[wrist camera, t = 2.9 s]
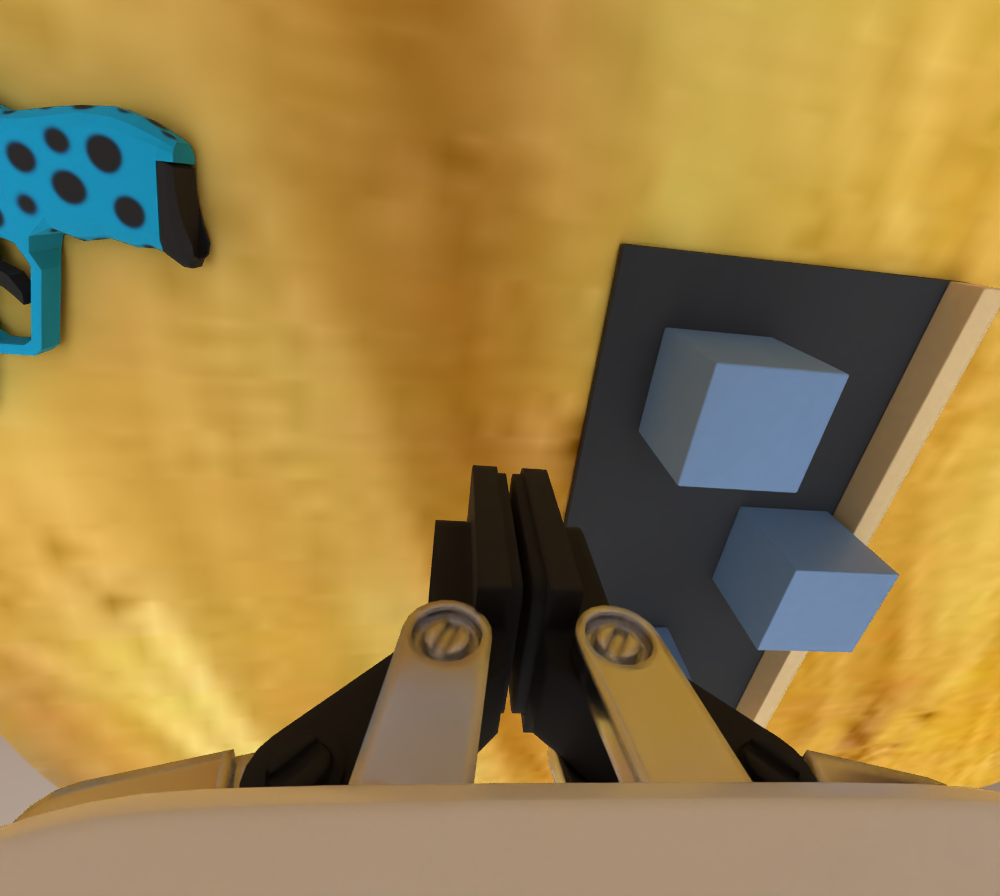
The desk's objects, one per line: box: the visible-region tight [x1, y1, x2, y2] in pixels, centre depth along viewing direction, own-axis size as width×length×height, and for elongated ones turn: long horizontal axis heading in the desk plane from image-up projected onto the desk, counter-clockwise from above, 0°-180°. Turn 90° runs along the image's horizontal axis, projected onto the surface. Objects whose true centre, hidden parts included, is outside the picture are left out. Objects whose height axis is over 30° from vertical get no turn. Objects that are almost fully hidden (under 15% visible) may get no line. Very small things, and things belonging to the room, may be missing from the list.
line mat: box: [564, 243, 1000, 728], centre depth 24 cm, size 26×14×2 cm, turn 174°
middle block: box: [712, 507, 899, 652], centre depth 23 cm, size 4×4×4 cm
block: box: [639, 327, 849, 493], centre depth 18 cm, size 4×4×4 cm
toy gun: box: [0, 104, 210, 356], centre depth 17 cm, size 2×13×10 cm
